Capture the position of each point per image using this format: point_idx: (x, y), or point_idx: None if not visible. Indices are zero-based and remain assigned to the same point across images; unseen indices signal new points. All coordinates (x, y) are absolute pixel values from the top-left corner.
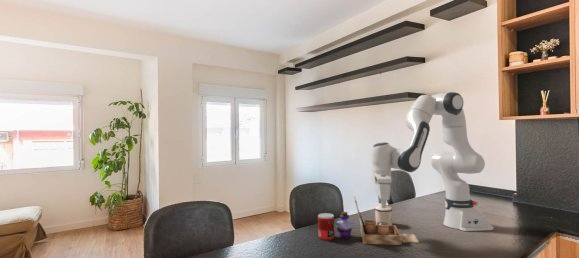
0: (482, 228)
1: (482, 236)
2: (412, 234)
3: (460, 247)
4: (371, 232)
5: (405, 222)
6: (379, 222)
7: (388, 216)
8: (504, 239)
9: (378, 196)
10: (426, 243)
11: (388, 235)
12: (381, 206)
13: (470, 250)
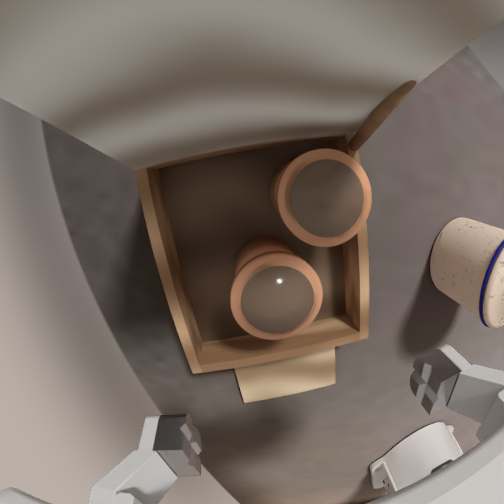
0: (374, 482)
1: (334, 484)
2: (329, 381)
3: (241, 467)
4: (272, 199)
5: (465, 333)
6: (291, 276)
7: (462, 300)
8: (318, 500)
9: (494, 387)
10: (248, 415)
11: (174, 313)
12: (181, 420)
13: (226, 476)
